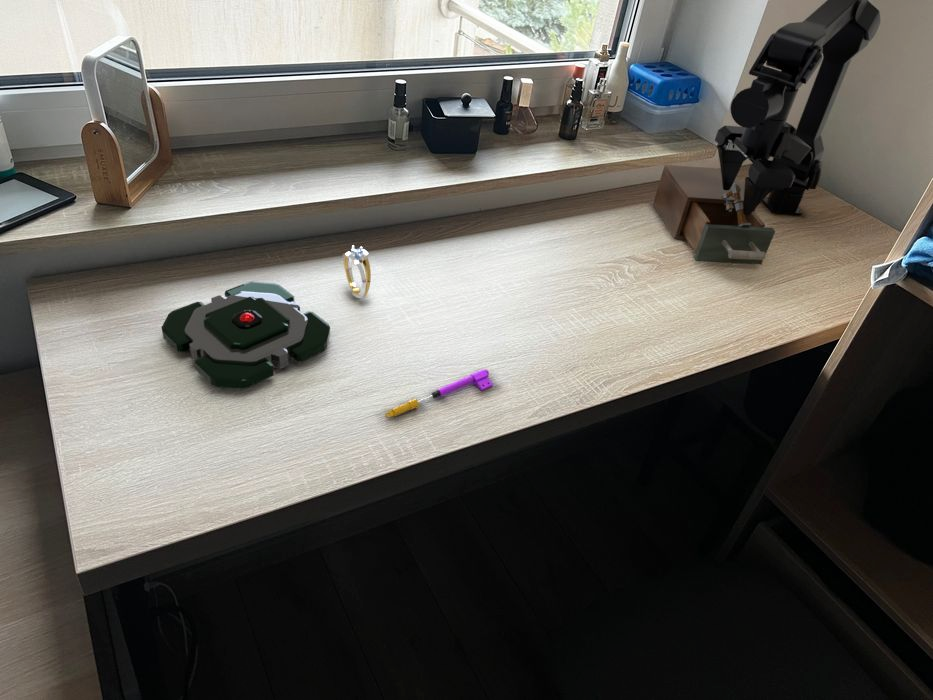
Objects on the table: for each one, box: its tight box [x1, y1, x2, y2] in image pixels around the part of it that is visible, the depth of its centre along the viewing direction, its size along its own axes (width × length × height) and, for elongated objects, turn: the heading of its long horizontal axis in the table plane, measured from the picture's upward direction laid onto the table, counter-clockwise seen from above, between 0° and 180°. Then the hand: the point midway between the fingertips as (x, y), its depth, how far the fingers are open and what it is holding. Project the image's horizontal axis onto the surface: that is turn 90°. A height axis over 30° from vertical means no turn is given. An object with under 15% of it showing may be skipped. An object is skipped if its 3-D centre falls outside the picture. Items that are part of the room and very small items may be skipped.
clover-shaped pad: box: [161, 281, 331, 390], centre depth 96 cm, size 18×18×5 cm
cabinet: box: [652, 164, 757, 241], centre depth 138 cm, size 14×14×9 cm
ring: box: [342, 245, 372, 299], centre depth 106 cm, size 7×3×8 cm, turn 27°
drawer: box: [681, 201, 776, 266], centre depth 129 cm, size 17×12×7 cm
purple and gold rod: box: [384, 369, 494, 419], centre depth 92 cm, size 3×1×16 cm
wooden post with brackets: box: [722, 183, 751, 227], centre depth 127 cm, size 2×8×4 cm
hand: (735, 201), depth 126 cm, fingers open, 9 cm apart
